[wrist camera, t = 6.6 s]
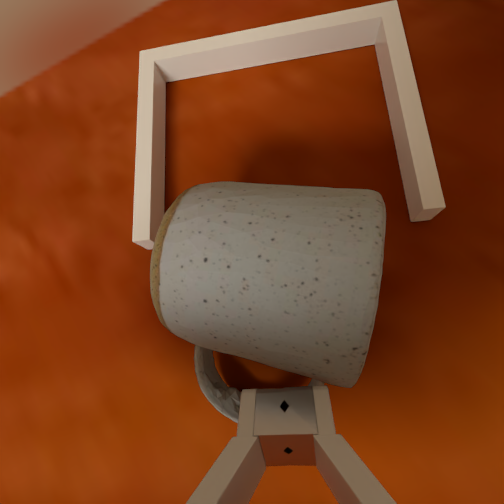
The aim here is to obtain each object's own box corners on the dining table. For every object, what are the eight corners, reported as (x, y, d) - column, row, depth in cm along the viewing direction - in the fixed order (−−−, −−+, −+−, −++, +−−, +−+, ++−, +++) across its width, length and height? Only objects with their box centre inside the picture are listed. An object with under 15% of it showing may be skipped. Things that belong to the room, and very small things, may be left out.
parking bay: (388, 29, 20) (396, -1, 18) (430, 219, 16) (445, 207, 15) (152, 73, 22) (139, 51, 20) (148, 249, 18) (132, 241, 17)
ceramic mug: (218, 211, 18) (161, 135, 11) (360, 227, 17) (407, 152, 9) (179, 399, 16) (75, 463, 9) (338, 438, 15) (373, 556, 7)
